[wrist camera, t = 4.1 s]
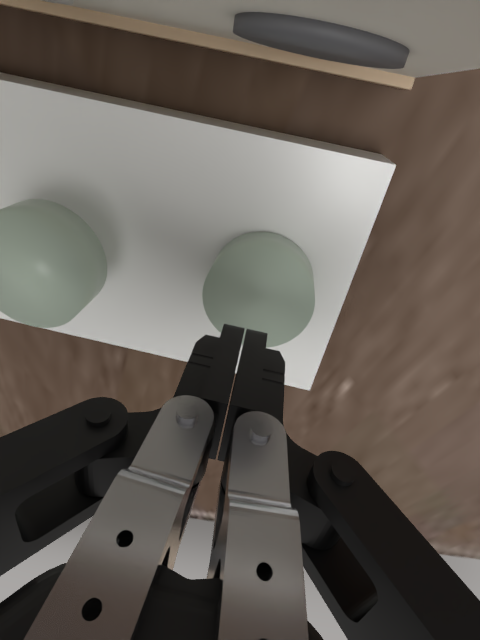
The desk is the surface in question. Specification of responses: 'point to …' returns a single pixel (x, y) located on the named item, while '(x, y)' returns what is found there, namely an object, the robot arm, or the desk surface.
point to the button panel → (185, 208)
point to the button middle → (47, 263)
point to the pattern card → (303, 31)
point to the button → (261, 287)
